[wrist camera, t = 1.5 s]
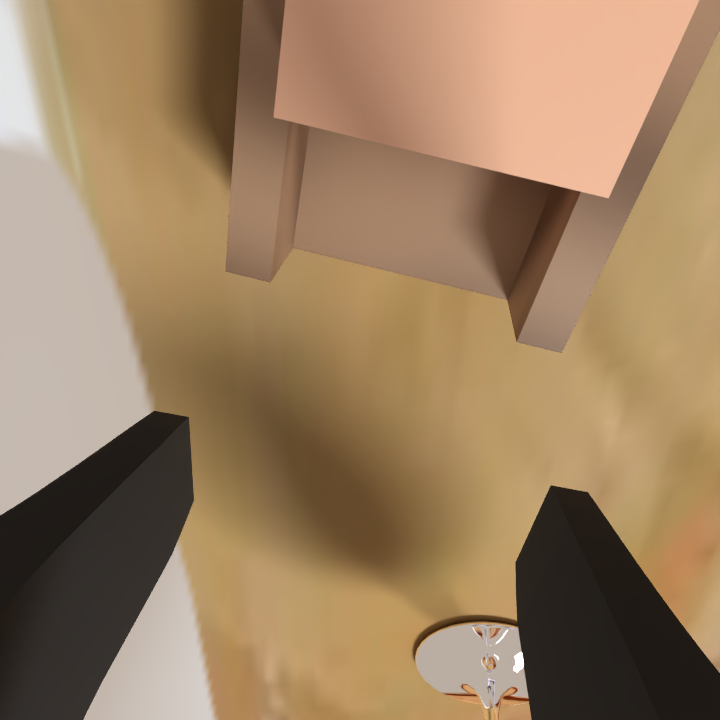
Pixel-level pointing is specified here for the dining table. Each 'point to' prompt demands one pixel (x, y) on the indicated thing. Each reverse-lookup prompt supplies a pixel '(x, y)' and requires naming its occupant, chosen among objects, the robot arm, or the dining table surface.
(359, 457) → the dining table surface
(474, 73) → the block
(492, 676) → the wineglass
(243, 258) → the shallow wooden tray
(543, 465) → the dining table surface
